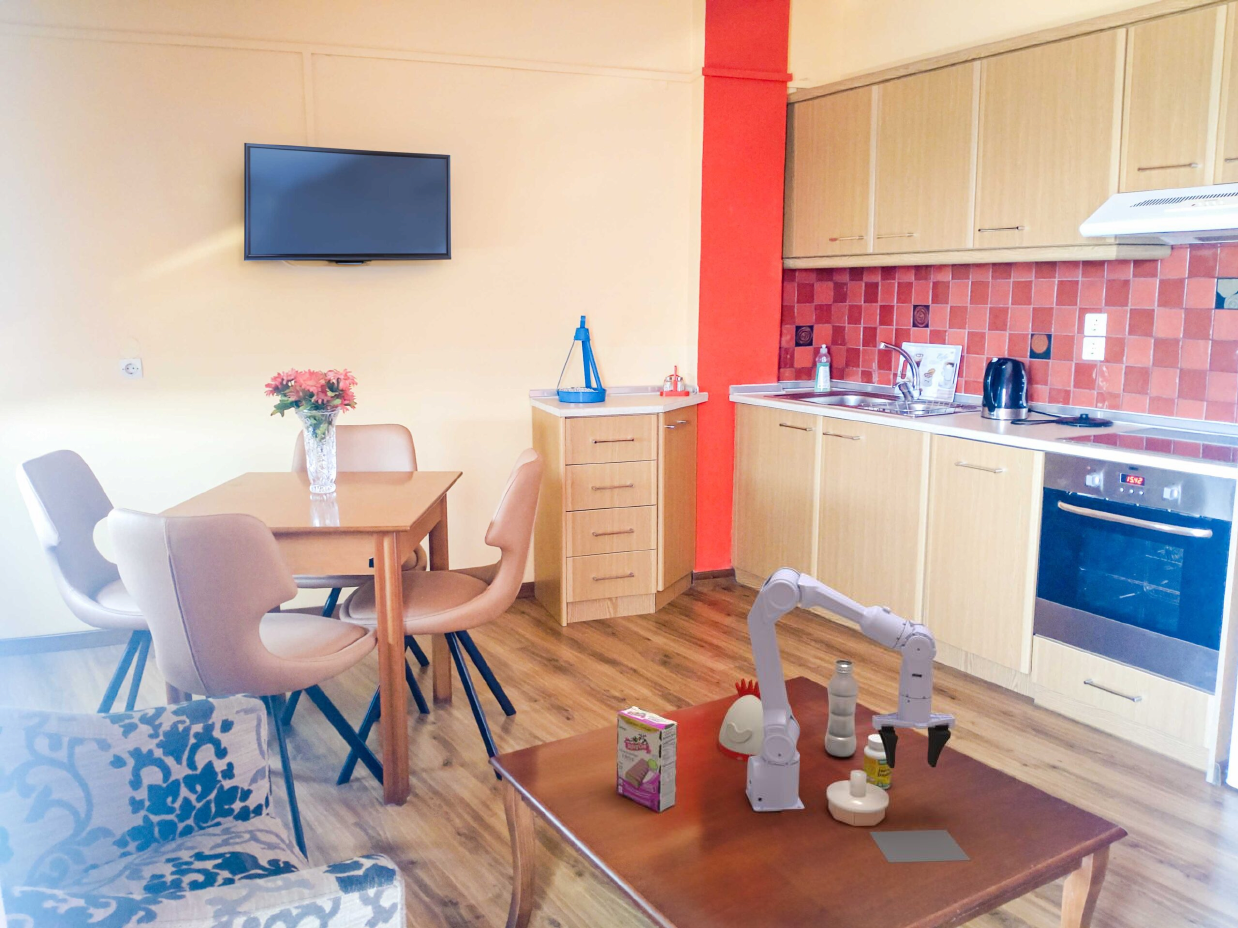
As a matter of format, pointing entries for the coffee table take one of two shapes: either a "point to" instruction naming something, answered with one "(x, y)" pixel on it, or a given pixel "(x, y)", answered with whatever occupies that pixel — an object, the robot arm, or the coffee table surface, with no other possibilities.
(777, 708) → the robot arm
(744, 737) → the white and red dome
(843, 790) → the lid
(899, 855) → the mat
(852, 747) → the plastic bottle
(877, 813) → the bowl
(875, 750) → the supplement bottle
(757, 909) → the coffee table surface
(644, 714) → the candy bar box
